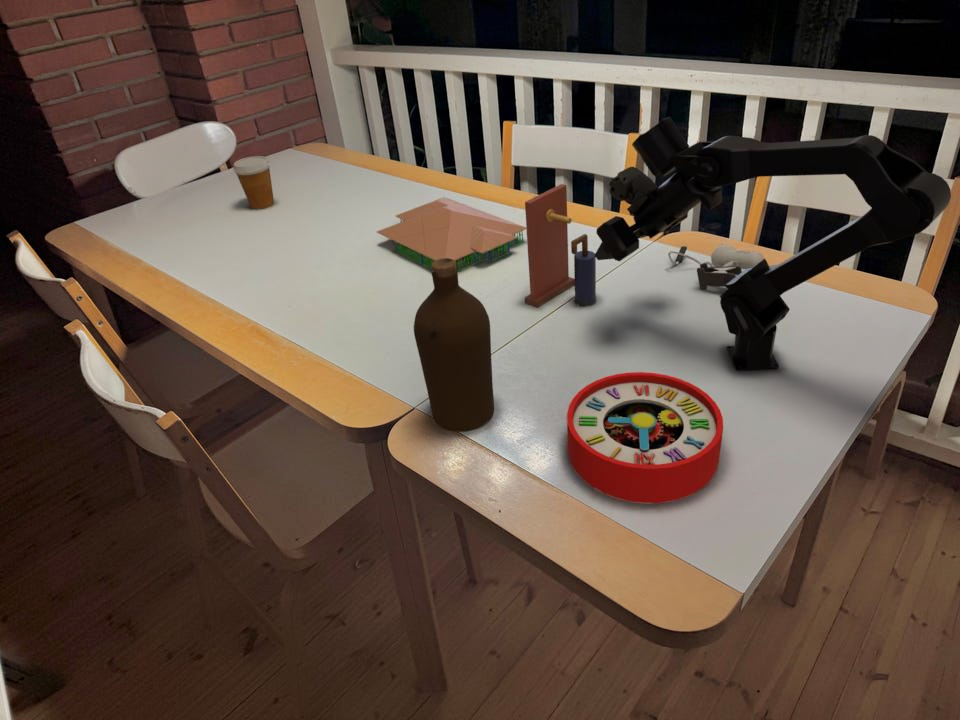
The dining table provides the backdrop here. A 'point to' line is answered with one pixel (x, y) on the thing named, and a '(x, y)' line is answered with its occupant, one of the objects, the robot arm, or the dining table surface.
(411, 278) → the dining table surface
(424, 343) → the olive oil
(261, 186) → the glass of beer
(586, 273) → the navy blue cylinder
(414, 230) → the house
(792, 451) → the dining table surface
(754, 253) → the clip-on lamp
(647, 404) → the toy clock
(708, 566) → the dining table surface
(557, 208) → the red upright board
